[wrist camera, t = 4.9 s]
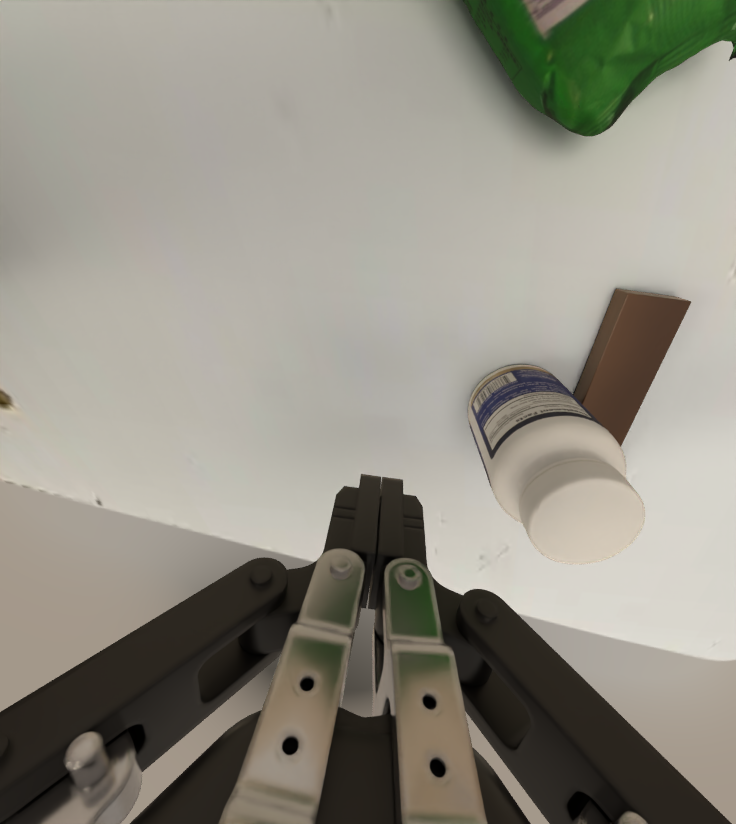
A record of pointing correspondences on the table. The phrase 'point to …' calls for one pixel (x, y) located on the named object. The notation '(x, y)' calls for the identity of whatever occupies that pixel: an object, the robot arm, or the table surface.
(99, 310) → the table surface
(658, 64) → the snack package
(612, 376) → the bar
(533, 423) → the pill bottle
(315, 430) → the table surface
